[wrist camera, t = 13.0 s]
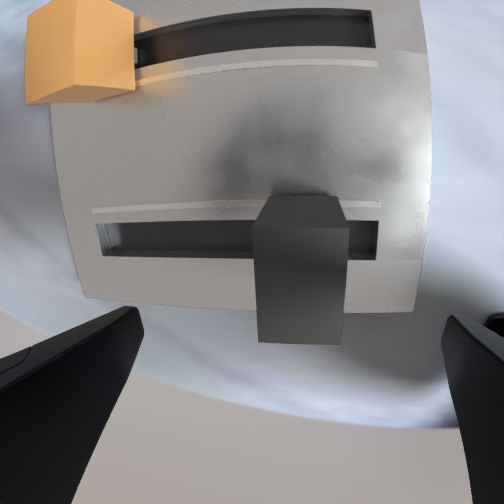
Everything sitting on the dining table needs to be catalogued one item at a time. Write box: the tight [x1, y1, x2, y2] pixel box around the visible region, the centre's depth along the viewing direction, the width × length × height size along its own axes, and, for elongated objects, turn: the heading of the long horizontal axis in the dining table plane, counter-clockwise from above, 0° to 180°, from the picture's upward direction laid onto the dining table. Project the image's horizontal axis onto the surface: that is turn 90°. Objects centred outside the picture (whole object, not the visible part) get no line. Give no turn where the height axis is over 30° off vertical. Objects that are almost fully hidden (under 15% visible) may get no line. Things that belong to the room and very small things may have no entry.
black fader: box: [252, 196, 349, 345], centre depth 13 cm, size 3×4×6 cm
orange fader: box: [25, 0, 138, 105], centre depth 11 cm, size 3×4×6 cm
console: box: [50, 0, 432, 313], centre depth 15 cm, size 20×18×2 cm
